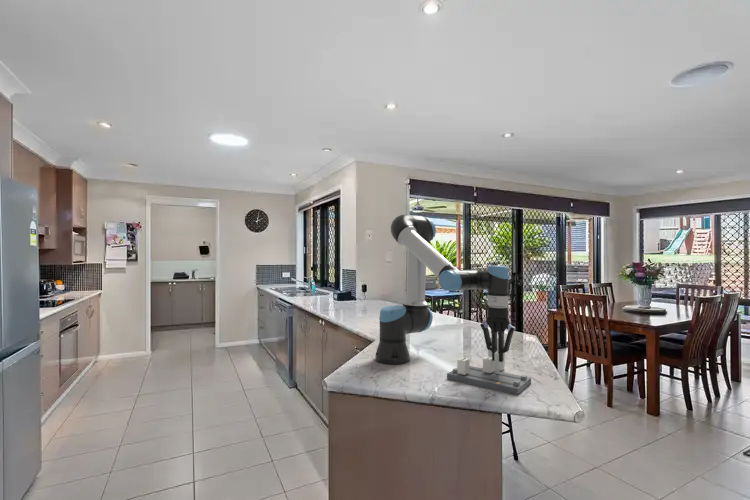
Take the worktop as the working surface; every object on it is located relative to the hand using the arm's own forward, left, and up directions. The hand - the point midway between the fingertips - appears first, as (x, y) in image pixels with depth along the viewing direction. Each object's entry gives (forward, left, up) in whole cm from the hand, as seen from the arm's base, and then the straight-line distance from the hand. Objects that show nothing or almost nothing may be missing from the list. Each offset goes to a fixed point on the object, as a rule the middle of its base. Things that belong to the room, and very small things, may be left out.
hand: (497, 369), depth 140 cm
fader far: (-3, 0, -1) cm, 4 cm away
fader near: (-10, -8, -1) cm, 13 cm away
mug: (-6, +15, -4) cm, 17 cm away
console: (-2, -4, -4) cm, 6 cm away
